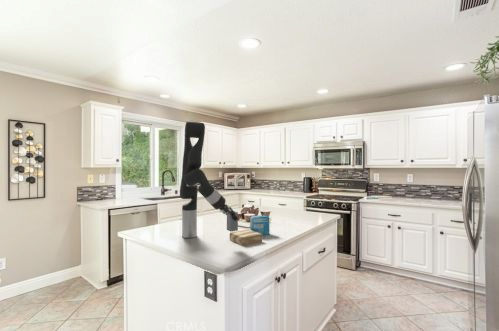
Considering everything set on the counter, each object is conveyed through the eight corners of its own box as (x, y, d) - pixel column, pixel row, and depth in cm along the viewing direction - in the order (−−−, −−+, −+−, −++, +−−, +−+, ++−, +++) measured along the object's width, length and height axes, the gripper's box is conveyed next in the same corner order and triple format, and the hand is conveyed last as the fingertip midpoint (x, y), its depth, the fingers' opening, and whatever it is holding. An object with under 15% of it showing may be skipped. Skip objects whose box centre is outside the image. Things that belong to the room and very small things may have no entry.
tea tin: (226, 229, 148) (226, 211, 148) (233, 228, 151) (233, 211, 151) (230, 231, 145) (230, 213, 144) (237, 230, 147) (237, 212, 147)
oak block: (229, 240, 162) (229, 232, 162) (248, 237, 170) (248, 229, 170) (242, 246, 151) (242, 237, 151) (261, 242, 159) (262, 234, 159)
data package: (252, 236, 172) (252, 217, 172) (250, 234, 176) (250, 216, 176) (269, 234, 176) (269, 216, 176) (267, 232, 180) (267, 215, 180)
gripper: (225, 194, 137) (245, 215, 144) (213, 192, 149) (232, 211, 156) (216, 205, 134) (236, 226, 141) (204, 202, 146) (224, 221, 153)
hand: (234, 218), depth 148 cm, fingers closed on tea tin, 4 cm apart
